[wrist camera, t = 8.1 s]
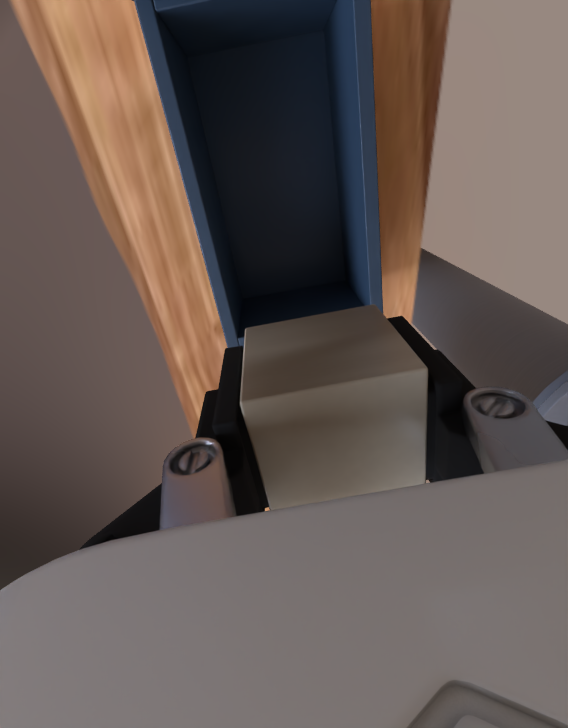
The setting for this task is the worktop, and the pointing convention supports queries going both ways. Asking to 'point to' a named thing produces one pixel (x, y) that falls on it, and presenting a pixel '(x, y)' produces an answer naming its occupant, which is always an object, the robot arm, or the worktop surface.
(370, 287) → the chest
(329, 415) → the block
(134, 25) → the worktop surface
